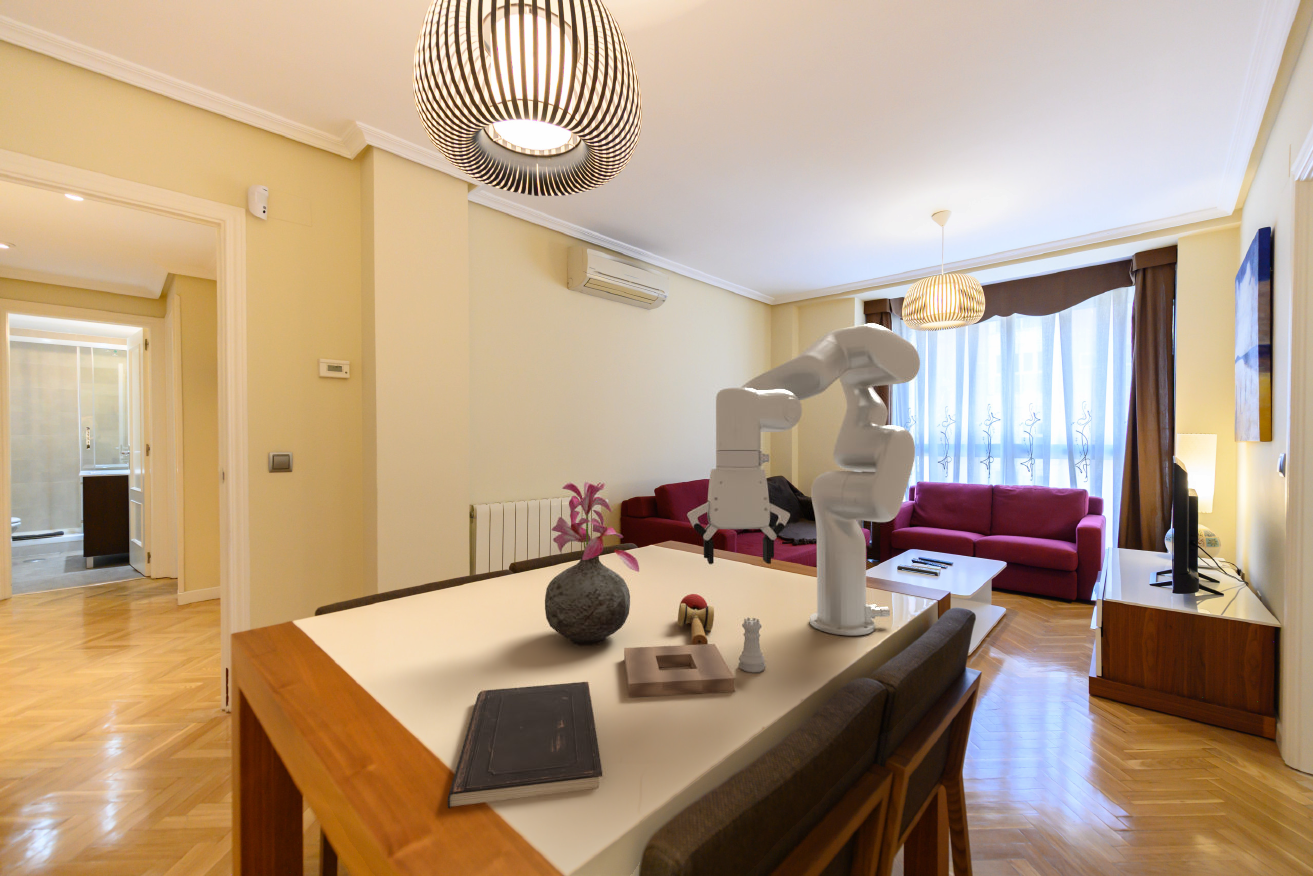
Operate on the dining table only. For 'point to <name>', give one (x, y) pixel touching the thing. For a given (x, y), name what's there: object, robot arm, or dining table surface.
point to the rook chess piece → (751, 648)
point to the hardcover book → (528, 744)
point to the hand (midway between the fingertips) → (738, 562)
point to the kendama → (696, 617)
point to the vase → (587, 578)
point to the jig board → (702, 678)
